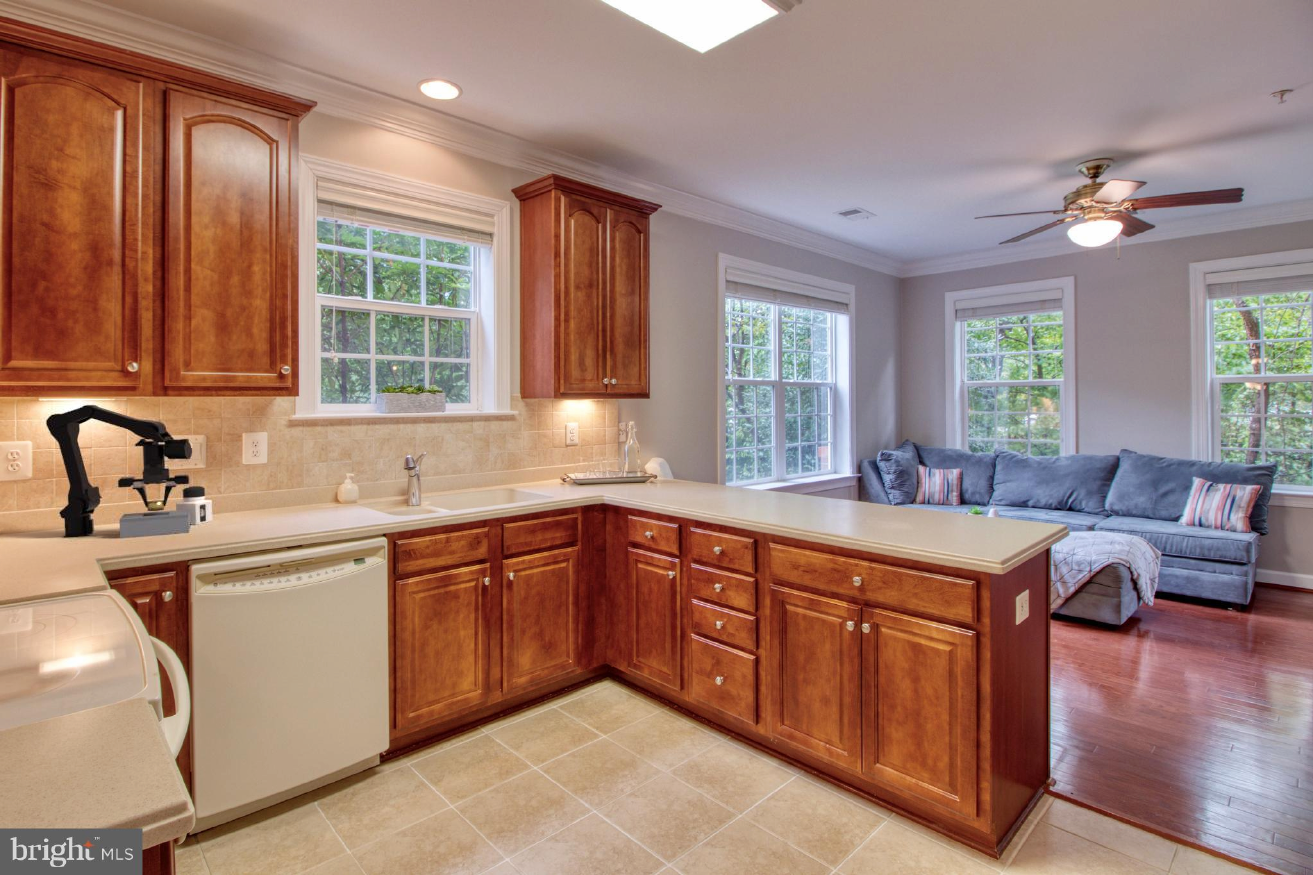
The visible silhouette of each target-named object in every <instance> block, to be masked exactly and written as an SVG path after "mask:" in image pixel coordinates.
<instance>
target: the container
mask: <svg viewBox="0 0 1313 875" xmlns="http://www.w3.org/2000/svg"><path fill="white" fill-rule="evenodd" d="M182 500H183V501H179V502H176V503H175V510H190V524H191V525H190V526H198V525H203V524H206V522H207V523H211V522H213V502H212V500H211V499H206V490H205V486H202V485H201V486H200V485H199V486H198V485H193V486H192V485H191V486H186V487H183V488H182ZM197 524H198V525H197Z"/></svg>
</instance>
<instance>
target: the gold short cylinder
mask: <svg viewBox="0 0 1313 875" xmlns="http://www.w3.org/2000/svg"><path fill="white" fill-rule="evenodd" d="M146 509H147V512H161V511H165V506H164V499H153V500H148V501H147V508H146Z"/></svg>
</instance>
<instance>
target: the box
mask: <svg viewBox="0 0 1313 875" xmlns="http://www.w3.org/2000/svg"><path fill="white" fill-rule="evenodd" d="M189 529H191V525H190V510H176V509H175V510H160V511H147V512H136V513H135V512H134V513H123V515H122V516H121V517H120V519H119V539H126V538H128V539H129V538H139V537H140V538H141V537H152V536H154V537H155V536H164V535H174V533H178V534H188V533H190V530H189Z"/></svg>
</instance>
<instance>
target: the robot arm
mask: <svg viewBox="0 0 1313 875" xmlns="http://www.w3.org/2000/svg"><path fill="white" fill-rule="evenodd" d="M91 419H93V420H96V421H99V422H103V423H105V424H109V425H113V426H115V427H118V428H123V429H125V430H128V431H130V432H131V433H133V434H134V435H136V436H138V437H140V439H139V441H137V442H136V443H135V444H134V447H142V460H143V461H142V464H143V465H142V466H143V470H142V478H136V477H135V476H123V477H121V478H119V479H118V481H117V487H118V488H130V487H131V488H132V490H136V491H137V493H139V495H140V497H141V499H142V501H143V503H144V506H145V508H146V509H147V501H149V500H148V494H147V491H146V489H147V488H146V486H147V485H154V484H155V485H160V484H165V486H164V496H163V500H164V507H166V505H167V502H168V499H169V496H170V493H171V492H172V489H173V488H176V487H177V486H178V485H189V484H190V475H189V474H186V473H185V474H174V476H171V477H170V468H168V467H167V468H166V460H165V458H167V459H168V460H190V459H191V458H192V456H193V448H192V445H191V443H190V442H189V441H190V440H189V438H182V439H175V438H174V437H173V436H172V435H171V434H170V433H169V432H168V431H167V426H166V425H165V424H164V423H163V422H161V421H157V420H151V419H143V418H135V417H132V416H128V415H126V414H123V413H119V412H117V411H116V412H115V411H113V410H109V409H106V408H103V407H100V406H99V405H95V404H85V405H83V406H81V407H78V408H75V409H72V410H68V411H65V412H62V413H53V414H51V415H50V416H49V415H48V418H47V419H46V421H45V424H46V427H47V430H48V431H49V433H50V435H51V436H52V437H53V438H54V440H55V441H57V443H58V446H59V449H60V453H61V454H60V455H61V456H62V462H63V465H64V469H65V471H66V476H67V480H68V483H69V489H68V493H67V504H66V505H65V507H64V508H62V509H61V510H60V511H59V516H60V518H61V519H64V535H63V537H64V538H72V537H82V536H83V537H86V536H91V535H92V534H93V533H94V532H95V524H94V523H95V522H94V521H95V520H94V519H93V518H92V515H93V514H94V513H95V510H96V509H97V508H98V506H99V505H100V504H101V499H102V498H103V497H102V495H101V493H100V488H99V485H98V486H93V485H92V484H91V483H90V481H89V478H88V475H87V471H86V467H85V464H84V460H83V456H82V452H81V449H80V445H79V442H78V441H79V439H78V438H79V435H80V432H81V431H80V425H82V424H84V423H86V422H88V421H90V420H91Z"/></svg>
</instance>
